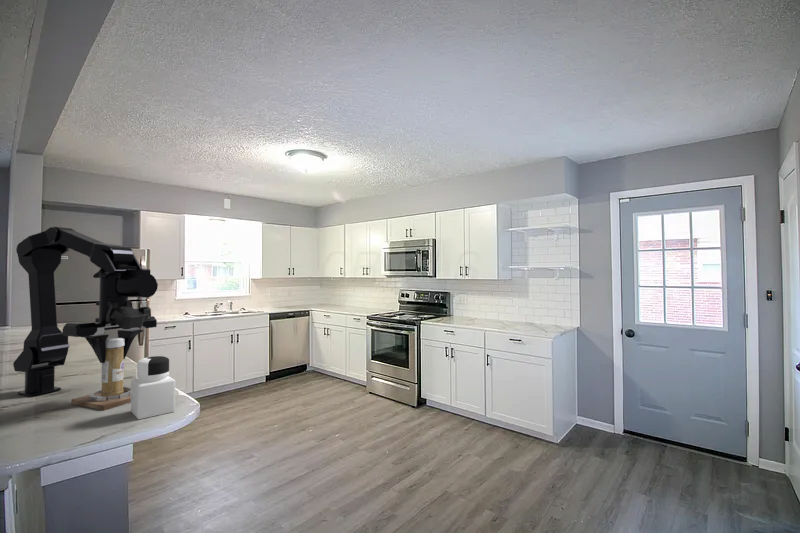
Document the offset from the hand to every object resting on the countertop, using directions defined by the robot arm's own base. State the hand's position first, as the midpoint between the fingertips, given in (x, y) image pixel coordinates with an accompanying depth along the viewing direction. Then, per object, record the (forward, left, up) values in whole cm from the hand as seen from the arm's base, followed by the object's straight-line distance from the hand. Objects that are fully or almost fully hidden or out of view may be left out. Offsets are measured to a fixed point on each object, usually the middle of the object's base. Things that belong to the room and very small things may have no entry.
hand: (112, 360), depth 96 cm
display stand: (0, 0, -9) cm, 9 cm away
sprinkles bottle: (0, 0, -8) cm, 8 cm away
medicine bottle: (+17, -2, -10) cm, 20 cm away
